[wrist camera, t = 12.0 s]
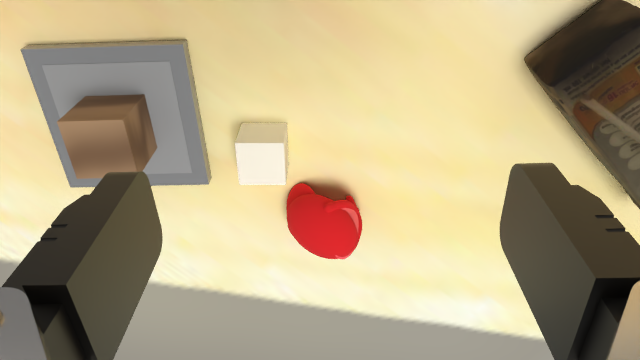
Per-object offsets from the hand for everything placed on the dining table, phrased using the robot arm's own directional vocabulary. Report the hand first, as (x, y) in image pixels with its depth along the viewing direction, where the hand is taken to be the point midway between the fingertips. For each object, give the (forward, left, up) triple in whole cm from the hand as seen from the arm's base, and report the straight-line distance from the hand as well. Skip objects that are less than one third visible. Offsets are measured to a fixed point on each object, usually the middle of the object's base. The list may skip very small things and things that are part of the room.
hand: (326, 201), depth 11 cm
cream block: (+14, -6, -30) cm, 34 cm away
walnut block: (+11, -18, -29) cm, 36 cm away
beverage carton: (+11, +25, -31) cm, 41 cm away
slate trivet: (+11, -18, -30) cm, 37 cm away
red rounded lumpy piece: (+21, -1, -30) cm, 37 cm away
